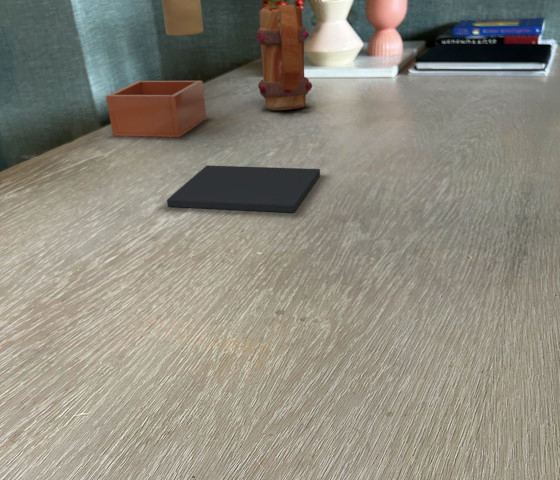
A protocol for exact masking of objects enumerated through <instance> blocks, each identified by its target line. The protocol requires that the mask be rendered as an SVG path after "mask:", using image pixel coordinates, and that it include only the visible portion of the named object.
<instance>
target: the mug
mask: <svg viewBox="0 0 560 480" xmlns="http://www.w3.org/2000/svg"><path fill="white" fill-rule="evenodd" d="M259 26H260V27H259V28H258V29H257V31H256V33H255V37H256V40H257V42H258V43H259V44H260V50H261V60H262V61H261V63H262V76H263V79H261V80H260V81H259V82H258V85H257V88H258V90H259V94H260V95H261V96H262V98H264V102H265V103H264V104H265V105H264V106H265V107H266V108H267V109H268V110H270V111H286V110H287V111H289V110H296V109H301V108H304V107H305V106H306V96H307V95H308V94H309V92H310V91H311V89H312V88H313V84H312V82H311V81H310V80H309V78H308V77H306V76H305V59H304V58H305V41H306V40H307V38H308V37H309V36H310V34H309V32H308V31H307V27H306V26H304V25H303V9H302V6H300V5H299V6H298V5H296V6H295V5H294V4H278V5H277V6H275V5H269V6H265V7H264V6H263V7H262V8H261V9H260V10H259Z"/></svg>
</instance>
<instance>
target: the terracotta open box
mask: <svg viewBox="0 0 560 480" xmlns="http://www.w3.org/2000/svg"><path fill="white" fill-rule="evenodd" d="M203 83H204V82H203V80H137V81H135V82H133V83H131V84H128V85H127V86H125V87H122V88H120V89H118V90H116V91H114V92H111V93H109V94H107V95H106V96H105V100H106V104H107V110H108V116H109V120H110V126H111V133H112V136H113V137H148V138H149V137H151V138H153V137H154V138H155V137H156V138H157V137H158V138H181V137H183V136H184V135H185V134H187V133H188V132H190V131H191V130H193V129H194V128H195V127H197V126H198V125H200V124H201V123H202V122H204V121H206V120H207V113H206V112H207V111H206V110H207V109H206V103H205V93H204V92H205V91H204V84H203Z"/></svg>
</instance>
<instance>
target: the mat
mask: <svg viewBox="0 0 560 480" xmlns="http://www.w3.org/2000/svg"><path fill="white" fill-rule="evenodd" d="M320 176H321V169H320V168H302V167H301V168H299V167H267V166H237V165H236V166H234V165H205V166H204V167H203V168H202V169H201V170H200V171H198V172H197V173H196V174H195V175H194V176H193V177H191V178H190V179H189V180H188V181H187V182H185V184H183V185H182V186H181V187H180V188H179V189H177V190H176V191H175V192H174V193H173V194H171V195H170V196H169V197H167V199H166V205H167V207H169V208H192V209H211V210H229V211H230V210H232V211H252V212H275V213H291V214H292V213H295V212H296V211H297V209H298V208H299V206H300V205H301V203H302V202H303V201H304V199H305V197H306V196H307V195H308V193H309V192H310V190H312V188H313V186H314V185H315V183H316V182H317V181H318V179H319V178H320Z"/></svg>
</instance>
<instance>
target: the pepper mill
mask: <svg viewBox="0 0 560 480" xmlns="http://www.w3.org/2000/svg"><path fill="white" fill-rule="evenodd" d="M201 1H202V0H161V5H162V12H163V20H164V21H163V22H164V28H165V29H164V30H165V34H166V35H167V36H174V37H175V36H176V37H177V36H178V37H180V36H192V35H197V34H198V35H199V34H201V33H204V25H203V24H204V22H203V12H202V4H201V3H202V2H201Z"/></svg>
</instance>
